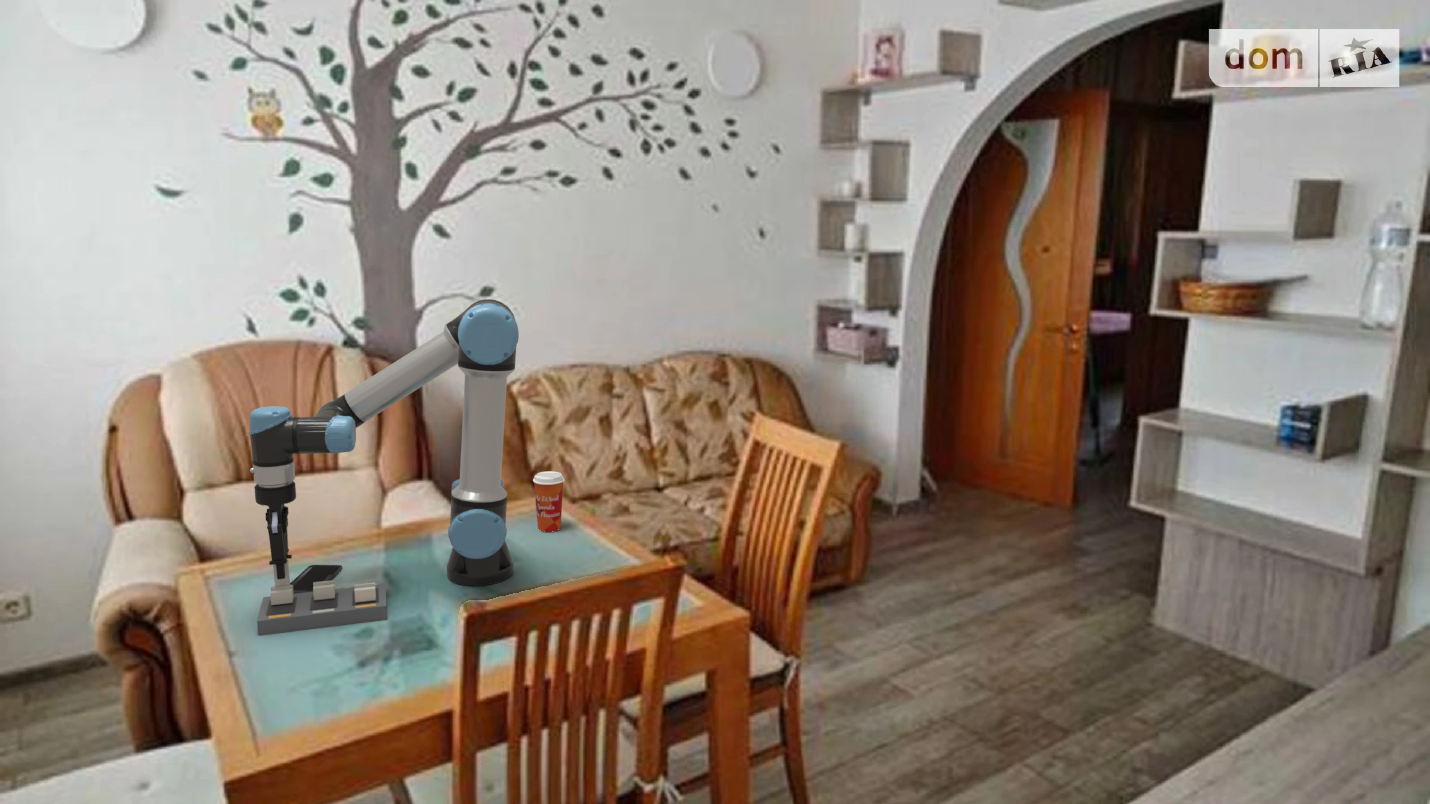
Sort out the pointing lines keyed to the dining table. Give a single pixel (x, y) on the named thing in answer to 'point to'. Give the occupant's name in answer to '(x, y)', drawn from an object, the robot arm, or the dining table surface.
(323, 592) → the switch tab
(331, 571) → the phone
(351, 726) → the dining table surface
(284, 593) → the switch tab
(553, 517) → the coffee cup
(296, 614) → the switch board
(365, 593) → the switch tab
